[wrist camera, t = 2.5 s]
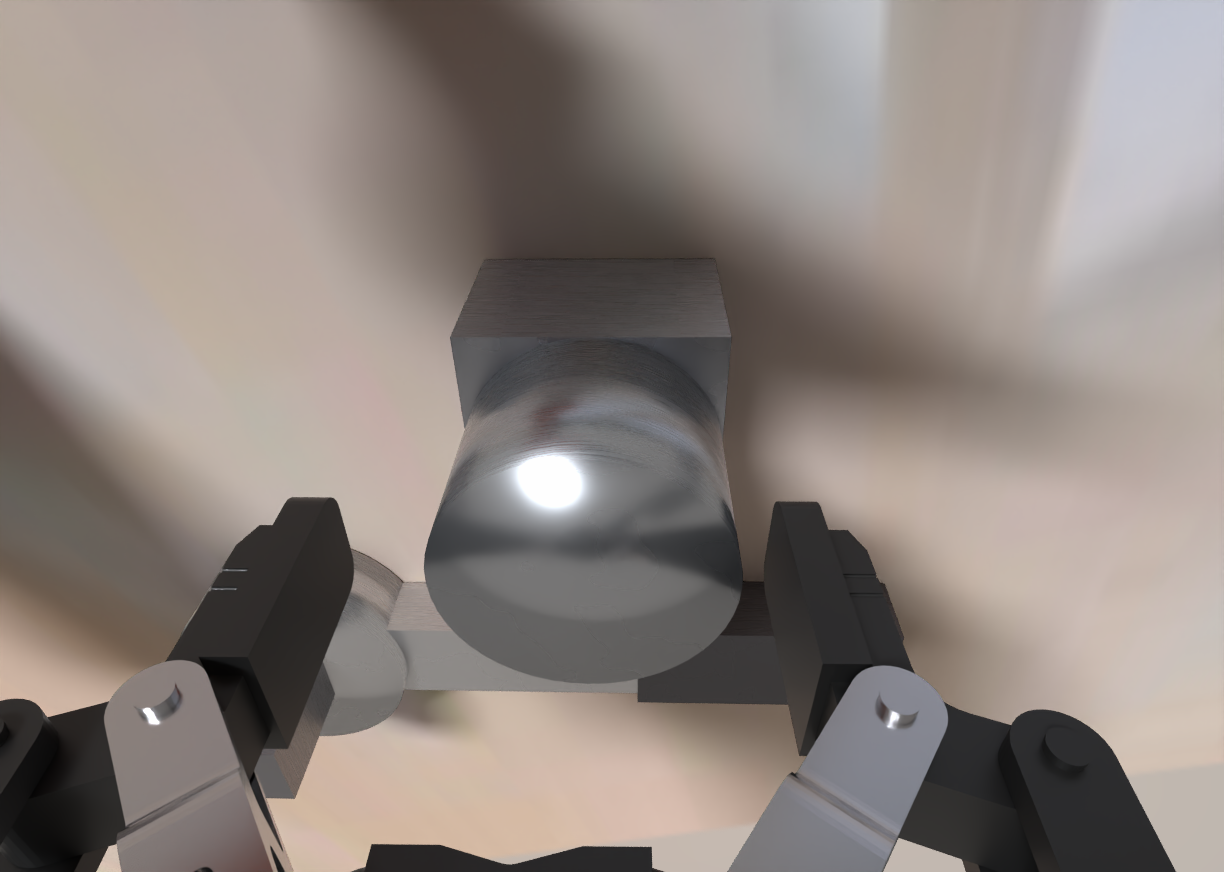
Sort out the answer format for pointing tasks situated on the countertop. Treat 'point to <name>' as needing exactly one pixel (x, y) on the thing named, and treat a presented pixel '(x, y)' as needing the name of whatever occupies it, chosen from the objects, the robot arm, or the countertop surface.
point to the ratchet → (489, 667)
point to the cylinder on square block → (589, 469)
